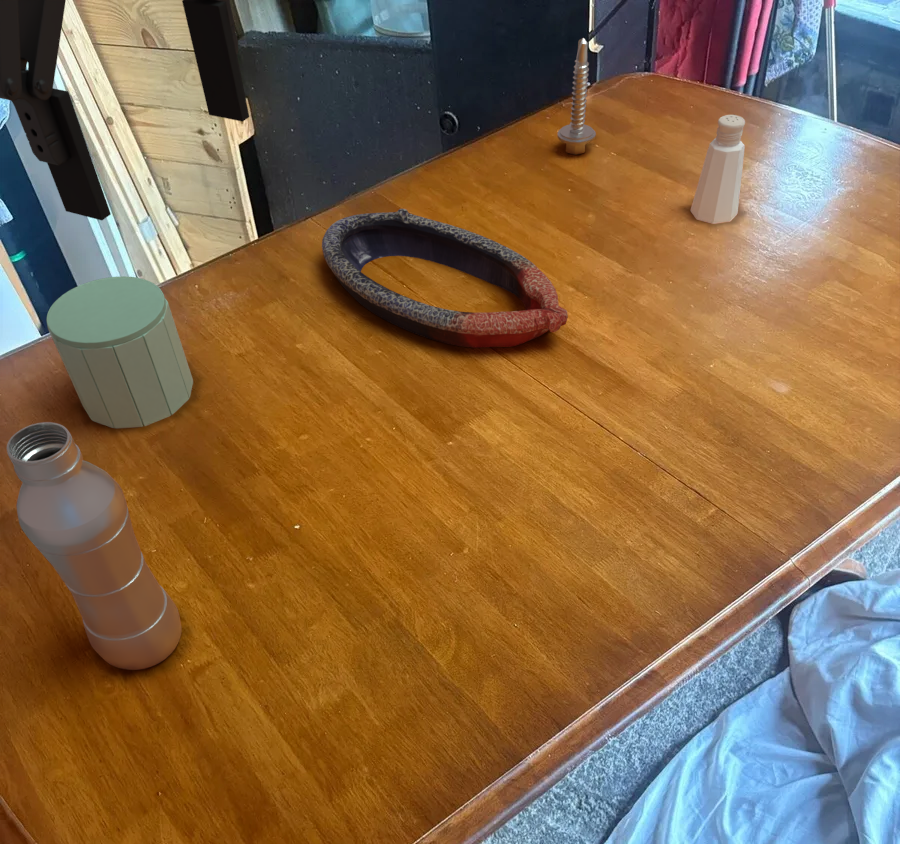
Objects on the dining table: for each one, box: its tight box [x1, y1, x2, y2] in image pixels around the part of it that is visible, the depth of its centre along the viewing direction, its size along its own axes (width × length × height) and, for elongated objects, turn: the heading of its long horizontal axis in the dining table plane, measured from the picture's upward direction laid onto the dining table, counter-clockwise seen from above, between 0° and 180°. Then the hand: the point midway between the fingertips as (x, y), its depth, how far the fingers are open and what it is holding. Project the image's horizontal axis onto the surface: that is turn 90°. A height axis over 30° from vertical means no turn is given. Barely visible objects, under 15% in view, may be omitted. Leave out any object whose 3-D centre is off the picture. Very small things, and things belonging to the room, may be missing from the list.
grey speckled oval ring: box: [321, 208, 569, 349], centre depth 92 cm, size 16×31×5 cm, turn 47°
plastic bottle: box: [6, 421, 182, 671], centre depth 59 cm, size 6×7×20 cm
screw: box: [557, 37, 597, 156], centre depth 110 cm, size 13×5×5 cm
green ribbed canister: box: [46, 275, 194, 429], centre depth 82 cm, size 10×10×10 cm
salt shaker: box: [690, 114, 746, 225], centre depth 99 cm, size 5×5×11 cm
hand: (163, 161), depth 54 cm, fingers open, 13 cm apart
